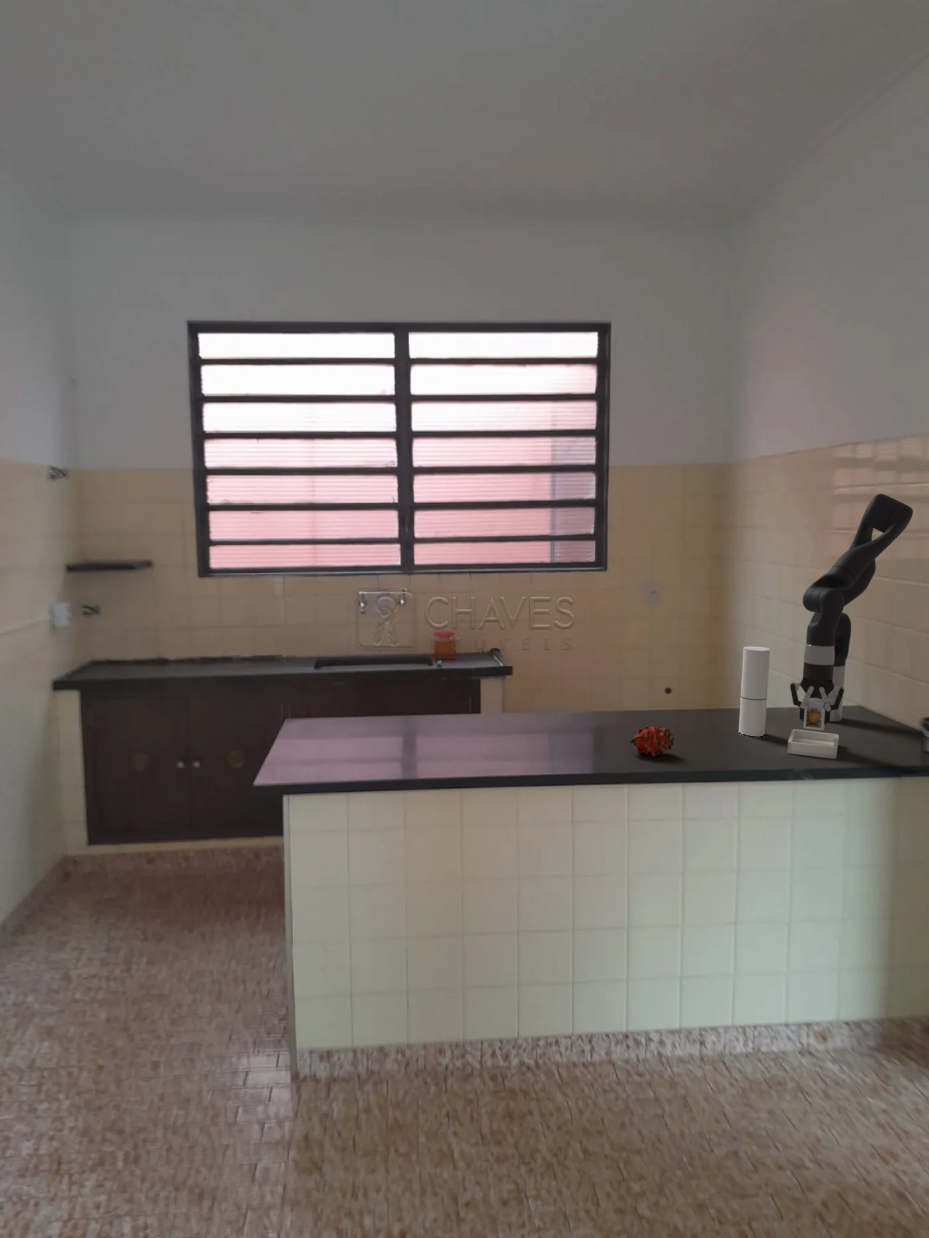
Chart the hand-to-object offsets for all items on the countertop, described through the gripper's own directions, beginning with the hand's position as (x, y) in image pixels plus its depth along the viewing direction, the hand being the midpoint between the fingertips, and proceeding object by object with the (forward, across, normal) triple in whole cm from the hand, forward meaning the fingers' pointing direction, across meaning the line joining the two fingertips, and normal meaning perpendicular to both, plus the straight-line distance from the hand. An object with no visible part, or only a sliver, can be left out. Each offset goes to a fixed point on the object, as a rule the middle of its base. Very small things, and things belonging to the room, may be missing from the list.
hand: (814, 722), depth 234 cm
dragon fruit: (+7, -38, -26) cm, 47 cm away
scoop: (+1, 0, 0) cm, 1 cm away
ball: (-1, 0, 0) cm, 1 cm away
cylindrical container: (+7, -17, +8) cm, 20 cm away
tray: (+7, 0, -1) cm, 7 cm away
